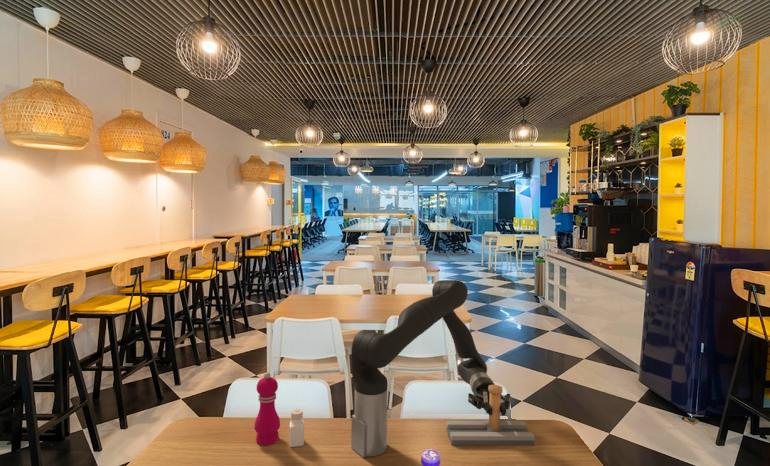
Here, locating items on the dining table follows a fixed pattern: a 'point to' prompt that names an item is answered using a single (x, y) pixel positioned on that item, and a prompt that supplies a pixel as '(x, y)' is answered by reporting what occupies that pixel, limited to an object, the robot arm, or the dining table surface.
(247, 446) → the dining table surface
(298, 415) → the pepper shaker
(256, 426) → the pepper mill
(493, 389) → the wooden peg
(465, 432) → the grey stand base
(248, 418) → the dining table surface
